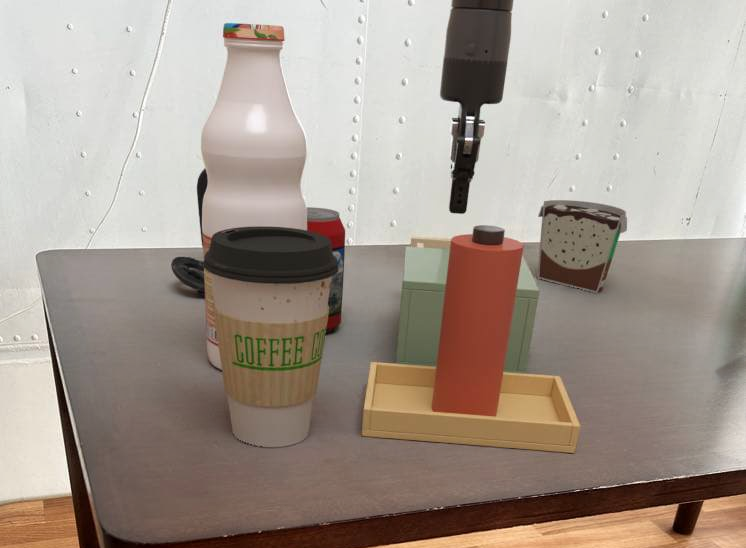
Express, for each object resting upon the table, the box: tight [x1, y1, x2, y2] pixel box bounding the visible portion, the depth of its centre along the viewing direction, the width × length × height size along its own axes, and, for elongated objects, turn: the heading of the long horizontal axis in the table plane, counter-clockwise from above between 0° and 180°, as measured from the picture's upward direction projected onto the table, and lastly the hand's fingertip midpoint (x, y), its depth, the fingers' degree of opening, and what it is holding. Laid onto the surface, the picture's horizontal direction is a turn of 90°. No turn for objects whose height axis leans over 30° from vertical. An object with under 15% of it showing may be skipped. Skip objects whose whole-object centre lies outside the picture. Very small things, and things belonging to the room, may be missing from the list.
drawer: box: [409, 235, 452, 250], centre depth 95 cm, size 18×11×7 cm, turn 175°
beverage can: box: [306, 206, 346, 333], centre depth 87 cm, size 7×7×12 cm
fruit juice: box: [200, 22, 308, 371], centre depth 73 cm, size 9×9×28 cm
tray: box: [361, 361, 581, 454], centre depth 70 cm, size 17×11×2 cm, turn 85°
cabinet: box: [395, 246, 541, 374], centre depth 84 cm, size 15×13×9 cm
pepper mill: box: [432, 224, 525, 417], centre depth 67 cm, size 6×6×15 cm
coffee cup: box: [202, 226, 339, 448], centre depth 62 cm, size 10×10×15 cm
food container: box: [536, 199, 628, 294], centre depth 110 cm, size 12×6×10 cm, turn 46°
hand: (457, 212), depth 105 cm, fingers closed
